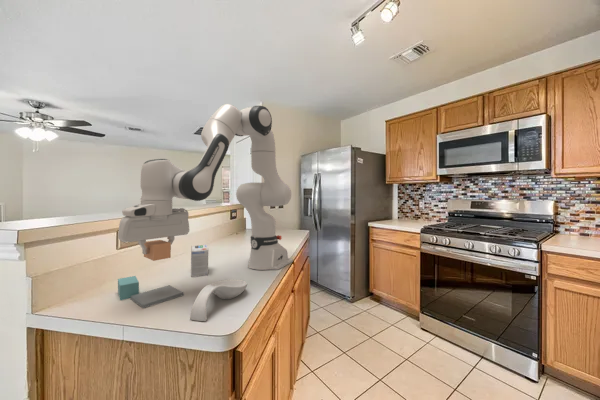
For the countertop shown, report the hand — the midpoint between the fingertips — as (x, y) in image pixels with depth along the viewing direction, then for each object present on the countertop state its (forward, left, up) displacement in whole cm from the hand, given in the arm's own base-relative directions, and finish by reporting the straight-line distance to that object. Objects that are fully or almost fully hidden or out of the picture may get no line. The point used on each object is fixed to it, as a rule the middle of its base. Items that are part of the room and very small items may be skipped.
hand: (157, 251), depth 79 cm
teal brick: (+5, -10, -15) cm, 19 cm away
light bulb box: (-22, -13, -15) cm, 29 cm away
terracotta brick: (0, 0, -2) cm, 2 cm away
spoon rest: (-11, +19, -15) cm, 27 cm away
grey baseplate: (0, 0, -15) cm, 15 cm away
